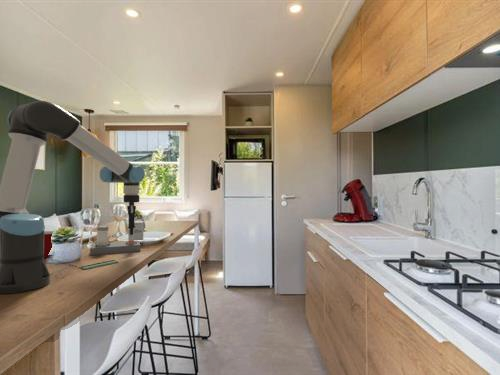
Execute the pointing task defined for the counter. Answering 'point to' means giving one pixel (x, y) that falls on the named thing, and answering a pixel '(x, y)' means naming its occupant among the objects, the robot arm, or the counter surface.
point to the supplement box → (138, 230)
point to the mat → (97, 264)
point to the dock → (114, 248)
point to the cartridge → (102, 236)
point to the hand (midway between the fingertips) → (131, 240)
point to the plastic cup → (47, 243)
